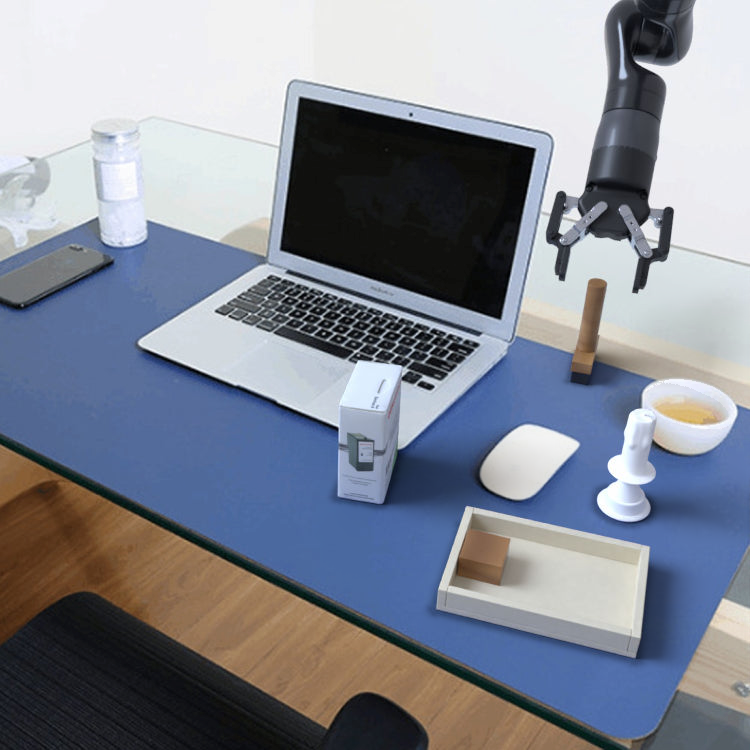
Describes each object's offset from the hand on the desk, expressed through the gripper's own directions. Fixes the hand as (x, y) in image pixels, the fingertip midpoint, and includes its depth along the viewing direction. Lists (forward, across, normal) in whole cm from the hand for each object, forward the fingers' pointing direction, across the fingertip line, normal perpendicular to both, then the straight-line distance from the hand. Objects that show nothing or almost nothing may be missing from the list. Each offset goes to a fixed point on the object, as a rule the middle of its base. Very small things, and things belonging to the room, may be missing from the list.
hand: (598, 285), depth 117 cm
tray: (+35, +1, -19) cm, 40 cm away
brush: (+8, 0, +8) cm, 11 cm away
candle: (+26, +7, -9) cm, 28 cm away
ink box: (+28, -19, -12) cm, 36 cm away
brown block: (+35, -5, -19) cm, 40 cm away
